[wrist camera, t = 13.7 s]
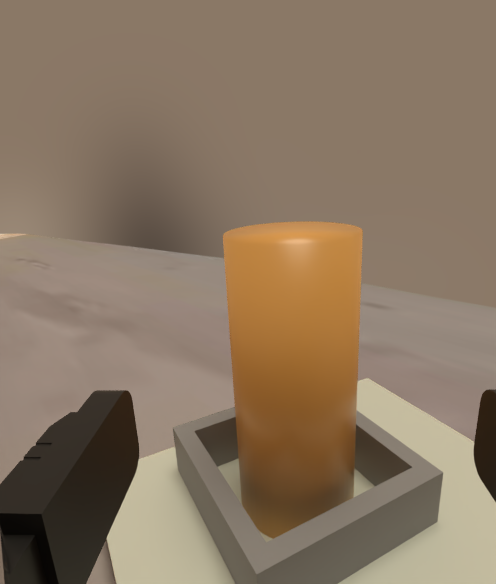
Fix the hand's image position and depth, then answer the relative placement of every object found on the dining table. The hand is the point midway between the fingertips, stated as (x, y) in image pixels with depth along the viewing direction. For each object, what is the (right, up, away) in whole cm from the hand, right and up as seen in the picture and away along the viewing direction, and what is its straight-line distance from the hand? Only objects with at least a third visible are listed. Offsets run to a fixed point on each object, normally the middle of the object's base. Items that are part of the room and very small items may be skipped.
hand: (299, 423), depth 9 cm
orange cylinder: (+1, -6, +9) cm, 11 cm away
